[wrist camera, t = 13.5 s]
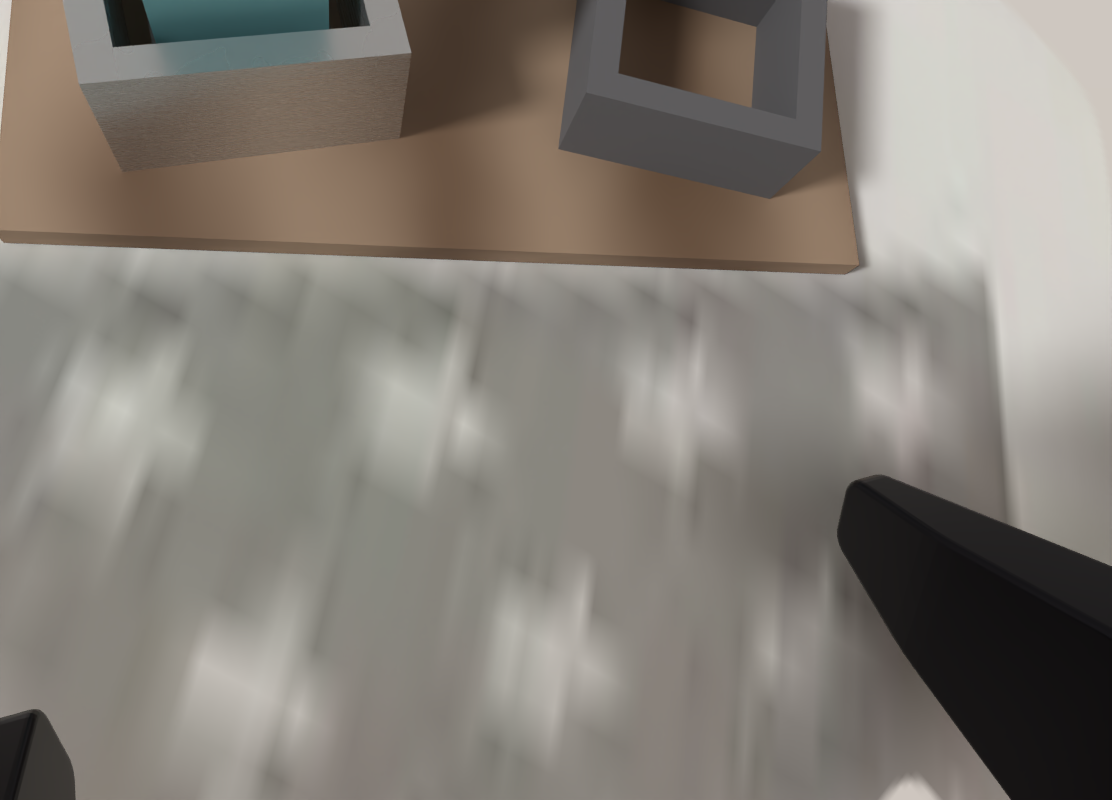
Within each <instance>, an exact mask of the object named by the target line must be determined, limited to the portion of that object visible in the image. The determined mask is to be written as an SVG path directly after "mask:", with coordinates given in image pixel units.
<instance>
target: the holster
mask: <svg viewBox="0 0 1112 800" xmlns="http://www.w3.org/2000/svg"><path fill="white" fill-rule="evenodd" d="M661 1H665V2H668V3H672V4H676V5H679V6H683V7H686V8H690V9H694V10H697V11H701V12H704V13H708V14H711V15H715V16H719V17H722V18H726V19H729V20H733V21H736V22H740V23H744V24H747V25H751V26H754V27H757V28H756V43H755V59H754V75H753V91H752V107H747V106H743V105H739V104H735V103H731V102H727V101H723V100H720V99H716V98H712V97H708V96H704V95H700V94H696V93H692V92H689V91H685V90H681V89H677V88H673V87H669V86H665V85H661V84H658V83H654V82H650V81H646V80H642V79H638V78H634V77H630V76H627V75H623V74H619V73H618V71H619V62H620V53H621V44H622V34H623V25H624V16H625V7H626V0H577V4H576V12H575V19H574V27H573V35H572V43H571V51H570V59H569V67H568V75H567V83H566V91H565V99H564V107H563V115H562V123H561V131H560V139H559V147H558V149H560V150H564V151H568V152H572V153H577V154H581V155H585V156H589V157H594V158H598V159H602V160H606V161H611V162H615V163H619V164H623V165H628V166H632V167H636V168H640V169H645V170H649V171H653V172H657V173H662V174H666V175H670V176H674V177H679V178H683V179H687V180H691V181H695V182H700V183H704V184H708V185H712V186H717V187H721V188H725V189H729V190H734V191H738V192H742V193H746V194H751V195H755V196H759V197H763V198H768V199H770V198H771V197H772V196H774V195H775V194H776V193H777V192H778V191H779V190H780V189H781V188H782V187H783V186H784V185H785V184H786V183H788V182H789V181H790V180H791V179H792V178H793V177H794V176H795V175H796V174H797V173H798V172H799V171H801V170H802V169H803V168H804V167H805V166H806V165H807V164H808V163H809V162H810V161H811V160H812V159H814V158H815V157H816V156H817V155H818V154H819V153H820V152H821V143H822V117H823V92H824V67H825V42H826V16H827V0H661Z"/></svg>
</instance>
